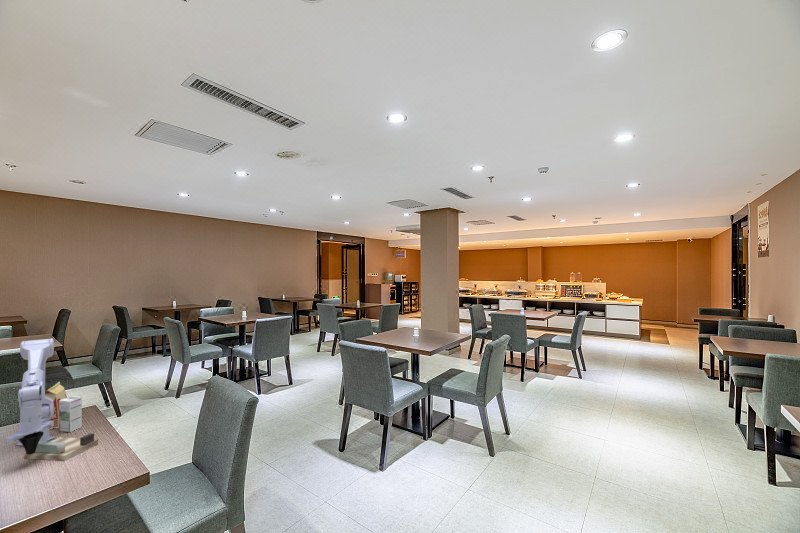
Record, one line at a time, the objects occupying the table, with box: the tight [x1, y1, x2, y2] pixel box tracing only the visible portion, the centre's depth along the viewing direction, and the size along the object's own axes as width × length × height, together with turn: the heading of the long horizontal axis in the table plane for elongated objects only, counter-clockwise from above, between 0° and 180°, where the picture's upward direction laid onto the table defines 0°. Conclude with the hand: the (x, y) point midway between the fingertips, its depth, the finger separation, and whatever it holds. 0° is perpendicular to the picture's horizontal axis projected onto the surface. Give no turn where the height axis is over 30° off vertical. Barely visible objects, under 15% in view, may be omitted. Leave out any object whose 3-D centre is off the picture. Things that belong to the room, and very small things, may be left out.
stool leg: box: [35, 441, 65, 453], centre depth 141 cm, size 13×2×3 cm, turn 83°
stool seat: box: [23, 433, 99, 462], centre depth 145 cm, size 18×14×5 cm
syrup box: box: [58, 396, 83, 433], centre depth 165 cm, size 6×6×14 cm
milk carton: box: [45, 381, 67, 430], centre depth 169 cm, size 9×9×20 cm
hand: (30, 453), depth 136 cm, fingers closed
